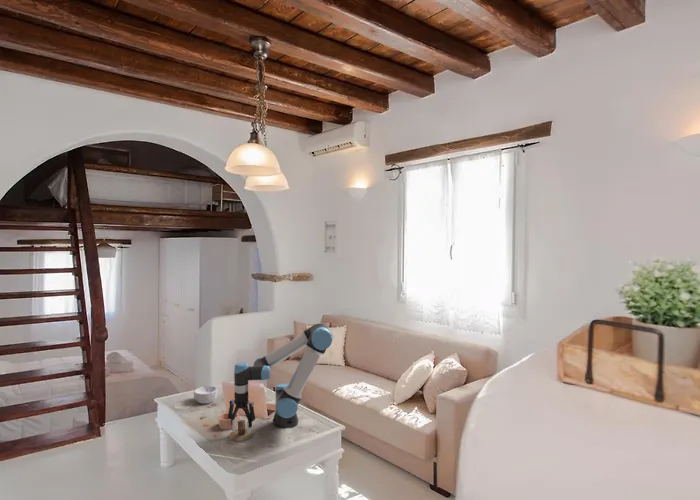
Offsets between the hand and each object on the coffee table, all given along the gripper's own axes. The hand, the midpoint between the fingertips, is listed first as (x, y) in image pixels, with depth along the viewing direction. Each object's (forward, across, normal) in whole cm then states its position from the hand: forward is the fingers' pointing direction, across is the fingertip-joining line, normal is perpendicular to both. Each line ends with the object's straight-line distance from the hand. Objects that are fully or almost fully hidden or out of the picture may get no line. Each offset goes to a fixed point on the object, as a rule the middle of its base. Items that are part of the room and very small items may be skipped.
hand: (241, 431), depth 238 cm
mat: (+3, 0, 0) cm, 3 cm away
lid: (+2, 0, 0) cm, 2 cm away
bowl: (+3, +14, -10) cm, 17 cm away
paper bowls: (+3, +50, -40) cm, 64 cm away
